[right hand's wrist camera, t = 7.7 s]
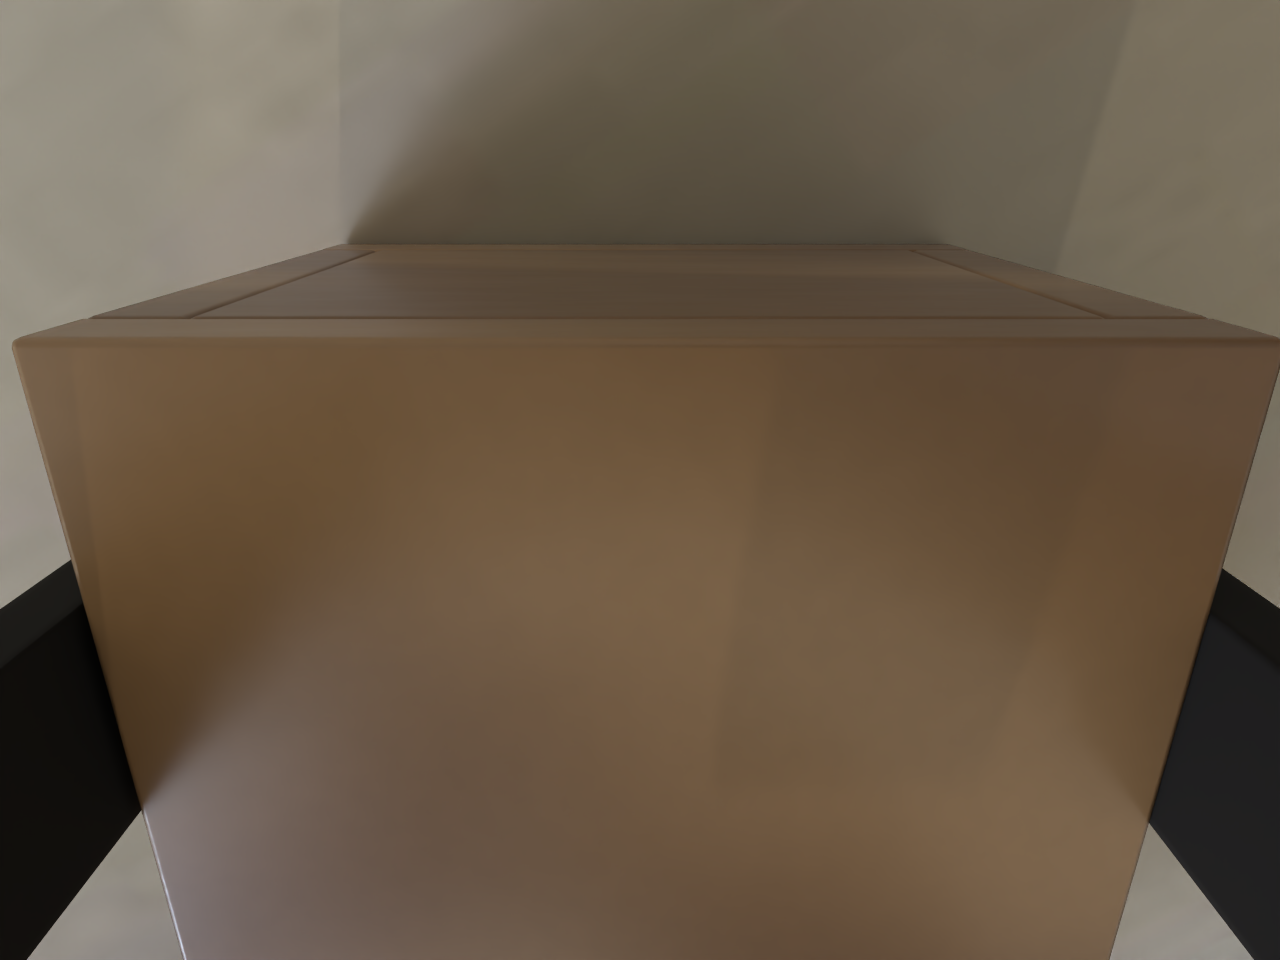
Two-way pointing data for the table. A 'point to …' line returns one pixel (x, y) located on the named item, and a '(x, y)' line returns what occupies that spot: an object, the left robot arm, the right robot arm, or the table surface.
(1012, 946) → the cabinet
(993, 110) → the table surface
